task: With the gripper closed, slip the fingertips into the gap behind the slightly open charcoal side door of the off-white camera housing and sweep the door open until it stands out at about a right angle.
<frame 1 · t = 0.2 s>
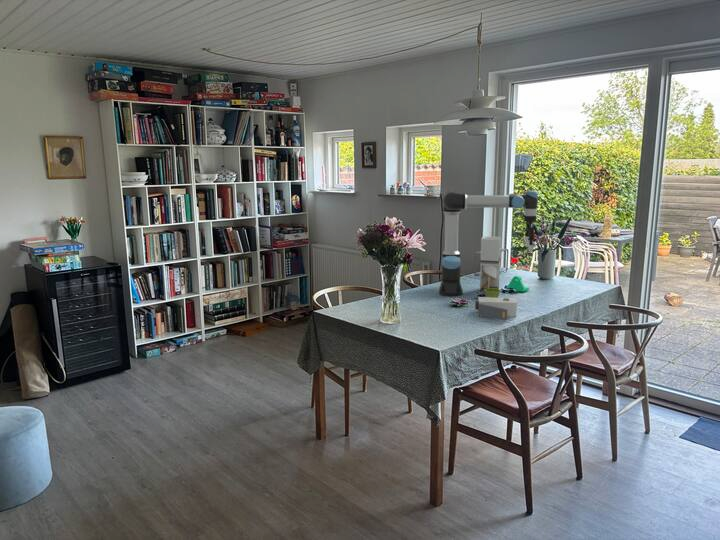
hand: (528, 248, 347), 28 cm above the table, tool pointing down, fingers open, 13 cm apart
camera housing: (496, 313, 302), on the table
display case: (489, 291, 353), on the table
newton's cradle: (491, 273, 404), on the table
camera mount: (518, 290, 354), on the table
plant pot: (491, 304, 322), on the table
side door: (492, 311, 292), point 4 cm above the table, hinge at 35.0°
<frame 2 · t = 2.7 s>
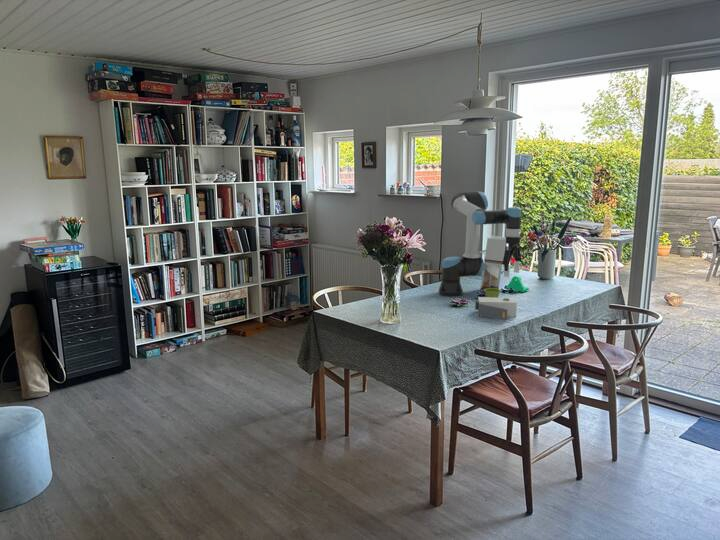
hand: (511, 274, 297), 22 cm above the table, tool pointing down, fingers open, 13 cm apart
display case: (489, 290, 352), on the table, touching arm
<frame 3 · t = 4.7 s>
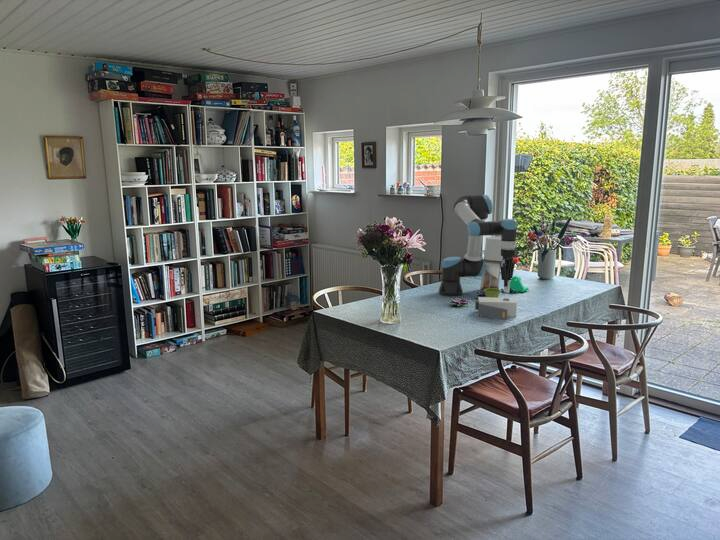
hand: (506, 292, 289), 15 cm above the table, tool pointing down, fingers closed
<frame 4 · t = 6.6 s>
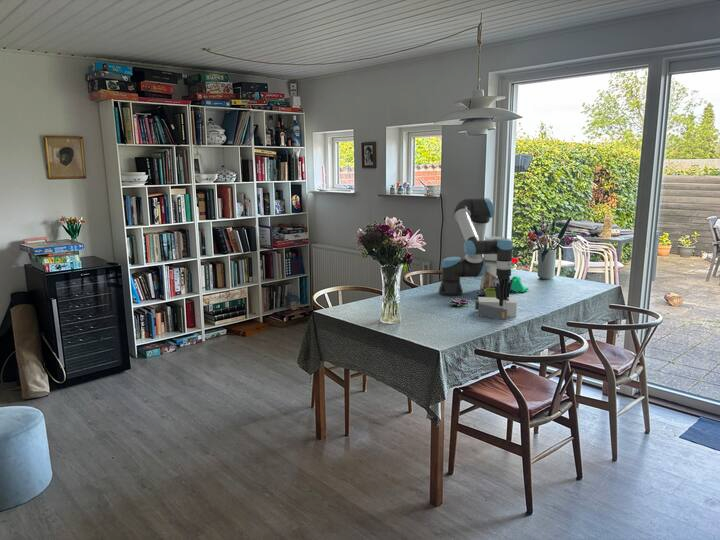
hand: (502, 311, 289), 5 cm above the table, tool pointing down, fingers closed
side door: (492, 312, 292), point 4 cm above the table, hinge at 36.6°, touching gripper
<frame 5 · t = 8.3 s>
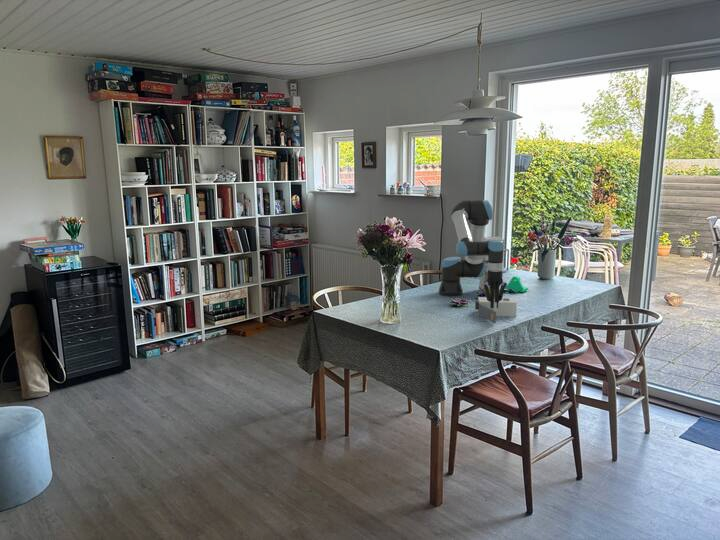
hand: (493, 313, 285), 5 cm above the table, tool pointing down, fingers closed
side door: (486, 313, 290), point 4 cm above the table, hinge at 65.5°, touching gripper
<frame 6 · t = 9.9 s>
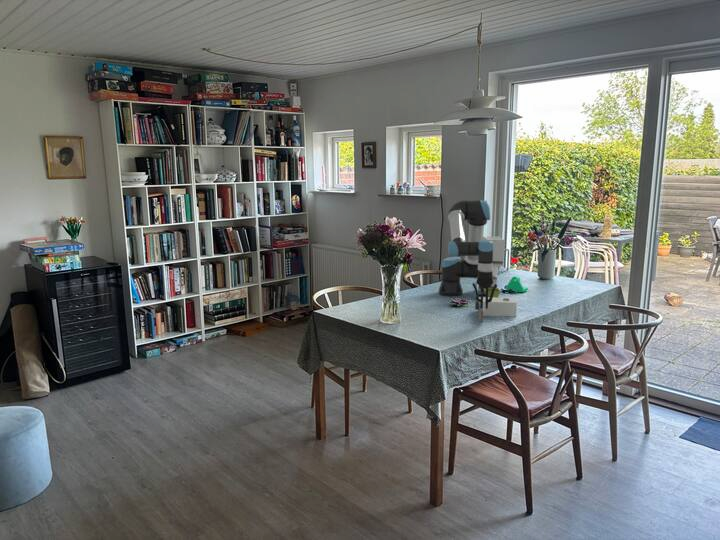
hand: (483, 314, 284), 5 cm above the table, tool pointing down, fingers closed
side door: (480, 313, 290), point 4 cm above the table, hinge at 90.0°, touching gripper
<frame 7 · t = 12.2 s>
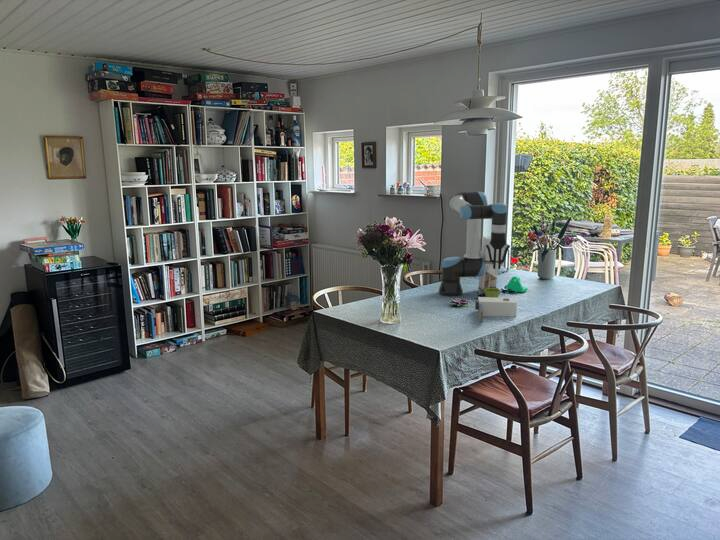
hand: (496, 274, 296), 23 cm above the table, tool pointing down, fingers closed
display case: (488, 291, 350), on the table
side door: (480, 313, 290), point 4 cm above the table, hinge at 90.1°
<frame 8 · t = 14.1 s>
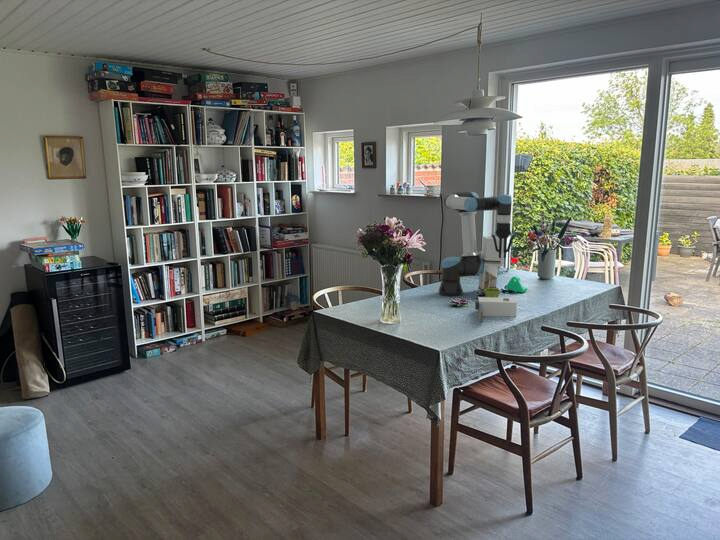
hand: (501, 263, 307), 26 cm above the table, tool pointing down, fingers closed
display case: (488, 291, 350), on the table, touching arm
at the end: side door at +90° (first picture: +35°); plant pot moved 0.2 cm from its start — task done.
